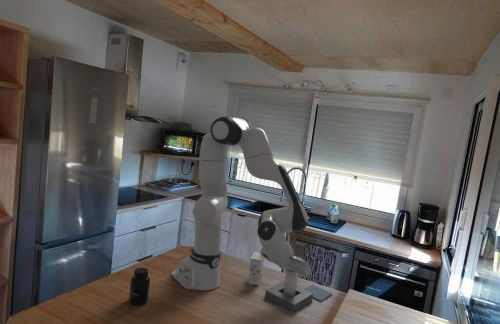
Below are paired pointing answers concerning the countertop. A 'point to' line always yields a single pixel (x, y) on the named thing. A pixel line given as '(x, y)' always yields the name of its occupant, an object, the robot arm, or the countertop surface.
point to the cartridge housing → (290, 303)
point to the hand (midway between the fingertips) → (292, 271)
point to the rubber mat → (318, 293)
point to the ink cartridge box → (256, 268)
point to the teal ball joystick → (290, 283)
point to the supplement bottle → (139, 287)
